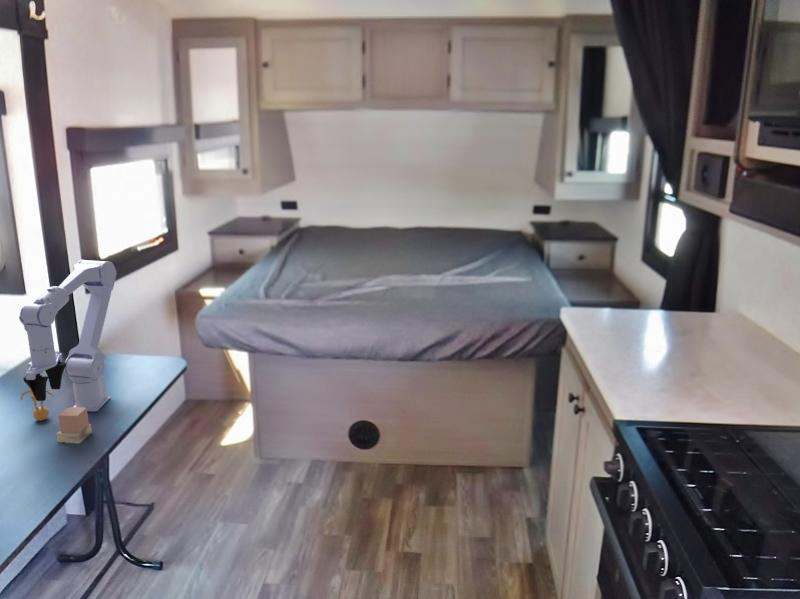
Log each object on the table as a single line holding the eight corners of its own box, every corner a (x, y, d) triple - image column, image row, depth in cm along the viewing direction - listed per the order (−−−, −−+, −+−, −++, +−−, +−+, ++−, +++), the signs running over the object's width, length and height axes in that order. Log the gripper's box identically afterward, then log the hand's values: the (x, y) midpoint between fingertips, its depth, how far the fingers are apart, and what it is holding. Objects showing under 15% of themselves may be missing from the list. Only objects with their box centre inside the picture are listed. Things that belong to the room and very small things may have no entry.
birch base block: (71, 432, 174) (70, 422, 173) (92, 433, 173) (90, 424, 172) (58, 443, 168) (56, 433, 167) (79, 444, 167) (77, 434, 166)
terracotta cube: (70, 423, 172) (68, 407, 171) (88, 424, 172) (86, 407, 171) (61, 432, 167) (58, 415, 166) (79, 433, 167) (77, 415, 166)
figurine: (59, 414, 183) (53, 376, 179) (55, 424, 177) (49, 384, 174) (27, 418, 180) (20, 380, 177) (22, 428, 175) (15, 388, 171)
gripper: (41, 338, 175) (48, 383, 179) (10, 356, 161) (18, 405, 165) (67, 338, 175) (73, 384, 179) (38, 356, 161) (45, 405, 165)
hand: (48, 394), depth 172 cm, fingers open, 7 cm apart
